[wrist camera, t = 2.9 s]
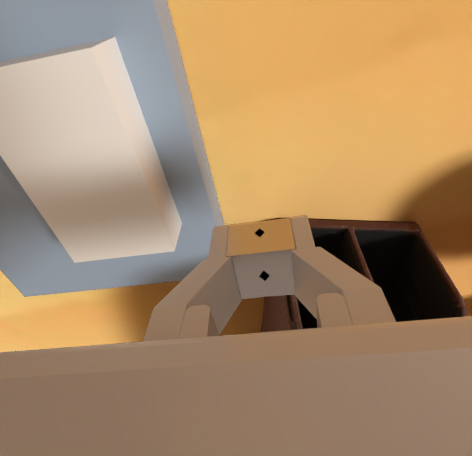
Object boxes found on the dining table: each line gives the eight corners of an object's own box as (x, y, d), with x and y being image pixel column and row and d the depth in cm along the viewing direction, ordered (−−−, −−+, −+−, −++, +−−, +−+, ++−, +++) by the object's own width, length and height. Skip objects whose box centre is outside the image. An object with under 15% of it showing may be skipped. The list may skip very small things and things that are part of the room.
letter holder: (256, 361, 35) (259, 543, 24) (273, 214, 22) (296, 452, 11) (348, 365, 34) (395, 549, 23) (417, 219, 22) (586, 464, 11)
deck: (-208, -37, 14) (-282, -39, 12) (131, -137, 12) (108, -158, 10) (41, 272, 26) (24, 296, 24) (231, 251, 24) (229, 275, 22)
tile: (-12, 63, 14) (-53, 78, 12) (114, 36, 13) (91, 47, 11) (91, 234, 20) (74, 262, 18) (182, 223, 19) (174, 251, 17)
